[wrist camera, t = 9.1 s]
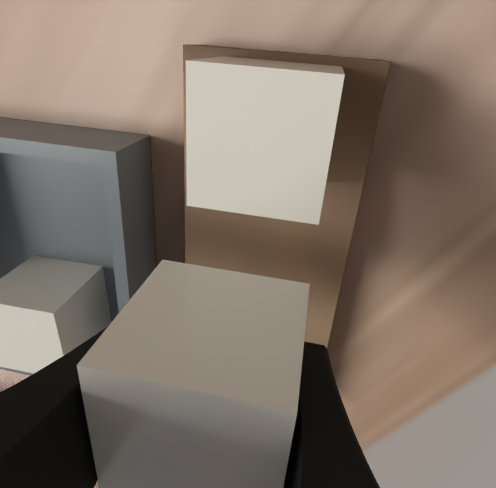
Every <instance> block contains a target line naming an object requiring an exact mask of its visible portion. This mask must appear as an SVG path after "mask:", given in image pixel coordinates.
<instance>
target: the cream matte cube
mask: <svg viewBox="0 0 496 488" xmlns="http://www.w3.org/2000/svg"><path fill="white" fill-rule="evenodd" d="M110 324H111V316H110V309H109V303H108V296H107V290H106V283H105V277H104V270H103V266H99V265H92V264H86V263H79V262H73V261H66V260H60V259H53V258H47V257H40V256H32V257H31V258H29V259H28V260H26V261H25V262H23V263H22V264H21V265H19V266H18V267H16V268H15V269H13V270H12V271H11V272H9V273H8V274H6V275H5V276H3V277H2V278H0V367H4V368H9V369H14V370H19V371H24V372H28V373H33V374H34V373H36V372H38V371H39V370H41V369H43V368H44V367H46V366H47V365H49V364H51V363H52V362H54V361H56V360H57V359H59V358H61V357H62V356H64V355H66V354H67V353H69V352H70V351H72V350H73V349H75V348H76V347H78V346H79V345H81V344H82V343H84V342H85V341H87V340H88V339H90V338H91V337H93V336H94V335H96V334H97V333H99V332H100V331H102V330H103V329H105V328H106V327H107V326H109V325H110Z"/></svg>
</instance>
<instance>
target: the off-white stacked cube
mask: <svg viewBox="0 0 496 488" xmlns="http://www.w3.org/2000/svg"><path fill="white" fill-rule="evenodd" d="M309 287H310V284H308V283H302V282H296V281H290V280H284V279H278V278H272V277H266V276H259V275H253V274H247V273H241V272H235V271H229V270H223V269H217V268H211V267H205V266H199V265H193V264H187V263H181V262H174V261H168V260H162V261H161V262H160V263H159V265H158V266H157V267H156V268H155V269H154V271H153V272H152V273H151V274H150V276H149V277H148V278H147V279H146V281H145V282H144V283H143V284H142V285H141V287H140V288H139V289H138V290H137V292H136V293H135V294H134V295H133V297H132V298H131V299H130V300H129V301H128V303H127V304H126V305H125V306H124V308H123V309H122V310H121V311H120V313H119V314H118V315H117V316H116V318H115V319H114V320H113V321H112V322H111V324H110V325H109V326H108V327H107V329H106V330H105V331H104V332H103V334H102V335H101V336H100V337H99V338H98V340H97V341H96V342H95V343H94V345H93V346H92V347H91V348H90V350H89V351H88V352H87V353H86V354H85V356H84V357H83V358H82V359H81V361H80V362H79V363H78V364H77V370H78V376H79V381H80V386H81V392H82V397H83V403H84V408H85V413H86V419H87V424H88V430H89V435H90V440H91V446H92V451H93V457H94V462H95V467H96V473H97V478H98V484H99V488H283V485H284V480H285V475H286V469H287V464H288V459H289V454H290V448H291V443H292V438H293V432H294V427H295V422H296V417H297V410H298V400H299V390H300V380H301V369H302V359H303V349H304V338H305V328H306V318H307V308H308V297H309Z"/></svg>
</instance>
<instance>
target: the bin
mask: <svg viewBox="0 0 496 488" xmlns="http://www.w3.org/2000/svg"><path fill="white" fill-rule="evenodd" d="M32 256H40V257H47V258H53V259H60V260H66V261H73V262H79V263H86V264H92V265H99V266H103V270H104V277H105V283H106V290H107V296H108V303H109V309H110V316H111V322H112V321H113V320H114V319H115V318H116V316H117V315H118V314H119V313H120V311H121V310H122V309H123V308H124V306H125V305H126V304H127V303H128V301H129V300H130V299H131V298H132V297H133V295H134V294H135V293H136V292H137V290H138V289H139V288H140V287H141V285H142V284H143V283H144V282H145V281H146V279H147V278H148V277H149V276H150V274H151V273H152V272H153V271H154V269H155V268H156V248H155V228H154V208H153V188H152V169H151V149H150V135H143V134H135V133H127V132H118V131H110V130H101V129H93V128H85V127H76V126H68V125H60V124H51V123H43V122H35V121H26V120H18V119H10V118H1V117H0V278H2V277H3V276H5V275H6V274H8V273H9V272H11V271H12V270H13V269H15V268H16V267H18V266H19V265H21V264H22V263H23V262H25V261H26V260H28V259H29V258H31V257H32ZM0 369H4V370H9V371H13V372H17V373H22V374H26V375H33V373H28V372H24V371H19V370H14V369H9V368H4V367H0Z"/></svg>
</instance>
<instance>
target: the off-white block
mask: <svg viewBox="0 0 496 488" xmlns="http://www.w3.org/2000/svg"><path fill="white" fill-rule="evenodd" d="M344 77H345V74H344V71H343V68H342V66H331V65H319V64H308V63H296V62H285V61H273V60H262V59H250V58H239V57H227V56H223V57H213V58H203V59H194V60H186V183H187V206H192V207H199V208H206V209H213V210H220V211H227V212H233V213H240V214H247V215H254V216H261V217H268V218H275V219H282V220H289V221H295V222H302V223H309V224H316V225H319V221H320V215H321V209H322V203H323V198H324V192H325V186H326V180H327V175H328V169H329V163H330V157H331V152H332V146H333V140H334V134H335V128H336V123H337V117H338V111H339V105H340V100H341V94H342V88H343V82H344Z"/></svg>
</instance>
